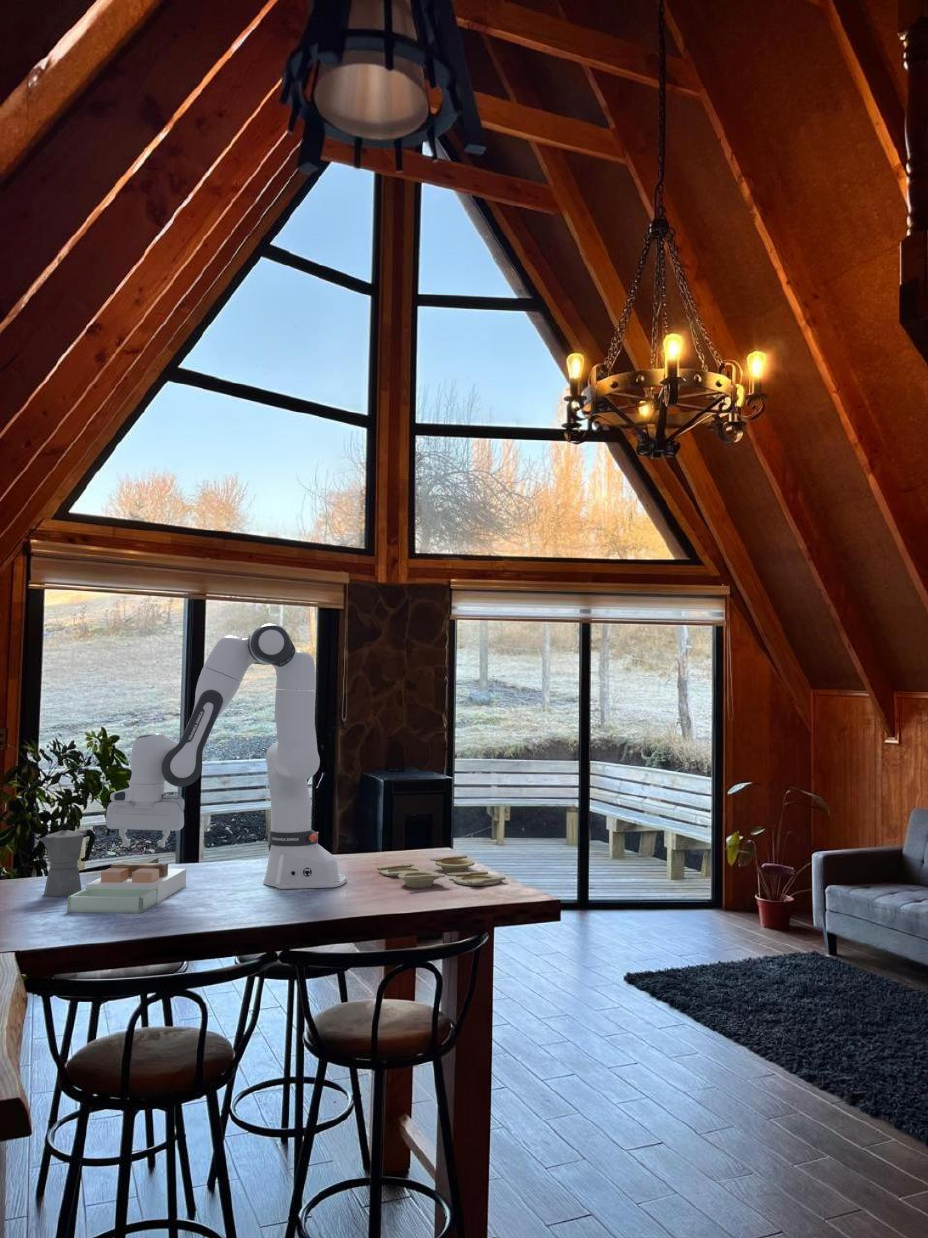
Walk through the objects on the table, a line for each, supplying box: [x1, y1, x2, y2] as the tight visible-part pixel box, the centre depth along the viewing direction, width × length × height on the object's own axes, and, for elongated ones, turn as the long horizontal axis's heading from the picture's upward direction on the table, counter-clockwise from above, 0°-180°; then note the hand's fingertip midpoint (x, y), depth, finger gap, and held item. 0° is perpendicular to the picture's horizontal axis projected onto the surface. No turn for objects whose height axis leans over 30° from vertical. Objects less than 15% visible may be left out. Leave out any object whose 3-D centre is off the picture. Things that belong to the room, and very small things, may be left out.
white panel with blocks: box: [85, 868, 187, 904], centre depth 241 cm, size 18×21×4 cm
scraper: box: [110, 857, 169, 877], centre depth 245 cm, size 14×11×3 cm
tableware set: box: [376, 854, 507, 889], centre depth 263 cm, size 35×29×4 cm
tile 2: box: [100, 867, 128, 882], centre depth 235 cm, size 5×5×2 cm
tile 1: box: [132, 869, 159, 883], centre depth 235 cm, size 5×5×2 cm
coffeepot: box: [39, 822, 97, 898], centre depth 242 cm, size 15×9×18 cm, turn 144°
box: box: [66, 887, 158, 914], centre depth 225 cm, size 18×10×4 cm, turn 88°
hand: (143, 847), depth 246 cm, fingers open, 8 cm apart
